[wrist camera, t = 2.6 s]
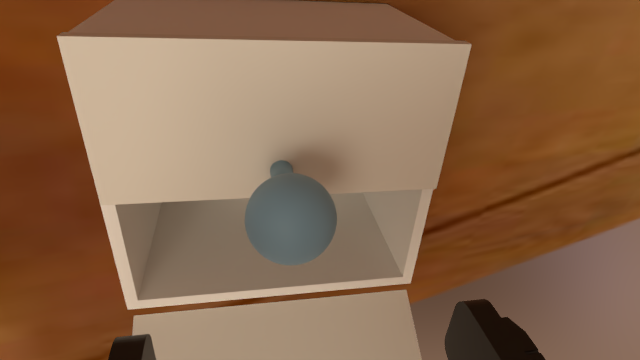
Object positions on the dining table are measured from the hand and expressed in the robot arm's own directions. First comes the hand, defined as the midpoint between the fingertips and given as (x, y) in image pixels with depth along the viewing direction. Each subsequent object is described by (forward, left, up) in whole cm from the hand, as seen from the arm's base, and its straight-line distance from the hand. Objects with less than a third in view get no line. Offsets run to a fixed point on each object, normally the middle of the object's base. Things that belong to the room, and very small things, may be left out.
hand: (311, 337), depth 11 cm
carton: (0, +2, -21) cm, 21 cm away
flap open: (0, +11, -6) cm, 13 cm away
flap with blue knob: (0, -2, -10) cm, 10 cm away
